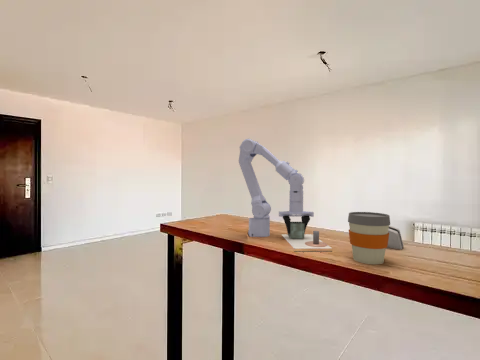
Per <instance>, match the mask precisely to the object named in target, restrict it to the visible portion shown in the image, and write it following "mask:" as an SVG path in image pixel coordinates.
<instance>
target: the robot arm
mask: <svg viewBox="0 0 480 360" xmlns="http://www.w3.org/2000/svg"><path fill="white" fill-rule="evenodd" d="M257 155H258V156H262V157H263V158H264V159H266V160H267V161H268V162H269V163H271V164H272V165H273V166H274V167H275V172H276V173H277V174H278V175H280V176H281V177H282V178H283V179H284V180H286V181H287V182H288V184H289V199H288V200H289V201H288V202H289V205H288V206H289V211H278V217H281V218H282V219H283V221H284V224H285V227H286V232H287V233H286V234H290V222H291V220H292V219H291V218H290V217H301V222H302V223H304V234H305V233H306V229H307V226H308V224H309V222H310V220H311V217H312V218H314V214H315V213H314V211H304V185H303V184H304V183H305V177H304V175H302V173H300V172H298V171H299V170H297V169H295V168H294V167H293V166H292V165H290V162H289V161H285V160H280V159H279V158H278V157H276V155H274V154H273V153H272V152H271V151H270V150H269V149H268V148H267V147H265V146H264V145H263V144H260V142H259V141H256V140H253V139H251V138H245V139H243V141H242V142H241V143H240V145H239V155H238V163H239V164H238V165H239V167H240V170H241V173H242V175H243V179H244V181H245V184H246V186H247V189H248V191H249V195H250V198H251V204H250V205H251V213H252V215H253V217H249V218H248V231H247V234H248V236H249V237H252V238H254V237H255V238H257V237H258V238H268V237H270V233H271V232H270V230H271V228H270V227H271V226H270V224H271V223H270V221H271V219H270V217H271V216H270V213H271V211H272V206H271V205H270V204H269V202H268V201H267V199H266V198H265V196H264V195H263V192H262V189H261V187H260V184H259V181H258V178H257V175H256V172H255V171H254V167H253V164H252V162H253V160H254V158H255V157H256V156H257Z"/></svg>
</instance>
